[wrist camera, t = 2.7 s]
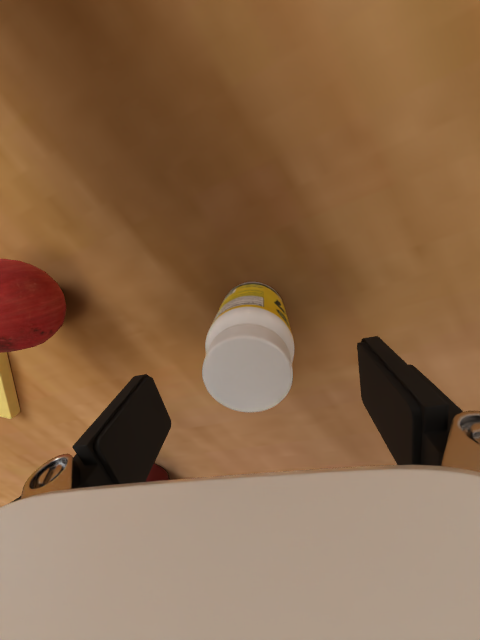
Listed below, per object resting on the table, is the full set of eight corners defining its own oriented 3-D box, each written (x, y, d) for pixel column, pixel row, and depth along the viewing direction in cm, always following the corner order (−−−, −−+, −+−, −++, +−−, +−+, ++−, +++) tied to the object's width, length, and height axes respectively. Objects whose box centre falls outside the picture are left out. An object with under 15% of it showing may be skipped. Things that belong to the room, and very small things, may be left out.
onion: (104, 316, 19) (6, 374, 12) (46, 330, 20) (-77, 393, 13) (66, 243, 17) (-79, 259, 10) (4, 264, 18) (-170, 292, 11)
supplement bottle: (287, 335, 18) (306, 417, 11) (228, 342, 19) (206, 424, 11) (281, 275, 17) (297, 321, 9) (216, 285, 17) (180, 335, 10)
